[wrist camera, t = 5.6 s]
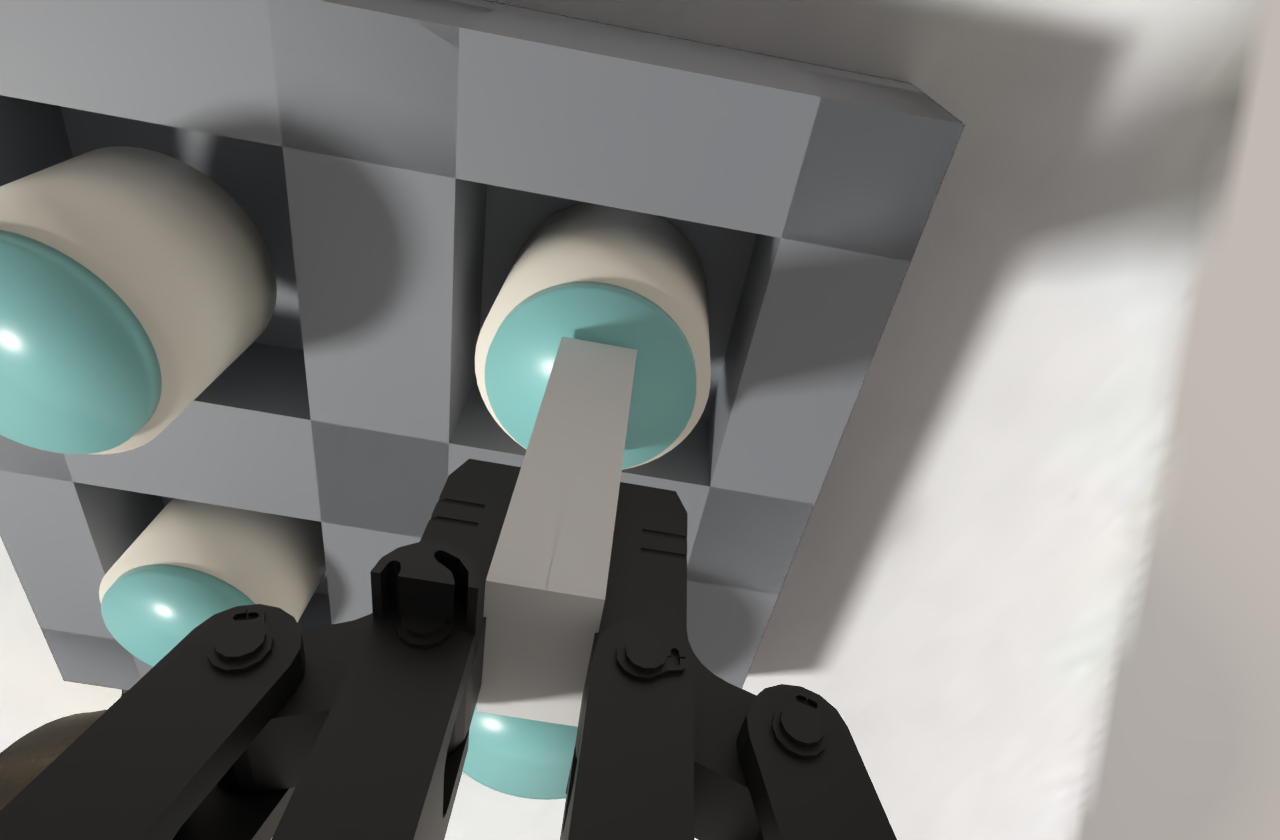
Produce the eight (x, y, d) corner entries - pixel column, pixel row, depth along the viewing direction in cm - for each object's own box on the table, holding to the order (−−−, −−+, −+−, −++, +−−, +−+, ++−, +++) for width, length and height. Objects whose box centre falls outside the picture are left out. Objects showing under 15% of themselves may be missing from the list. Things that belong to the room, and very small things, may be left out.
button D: (167, 450, 23) (67, 552, 19) (333, 477, 23) (265, 584, 19) (196, 565, 25) (113, 674, 22) (342, 589, 26) (285, 700, 22)
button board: (-84, -110, 16) (-286, -117, 13) (911, 83, 17) (964, 124, 14) (136, 591, 28) (63, 680, 25) (705, 678, 29) (707, 776, 26)
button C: (18, 125, 15) (-191, 191, 12) (263, 169, 16) (133, 247, 12) (80, 337, 18) (-72, 443, 15) (287, 372, 18) (187, 485, 15)
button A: (519, 182, 18) (475, 254, 14) (727, 221, 18) (736, 300, 14) (505, 364, 20) (465, 462, 17) (685, 395, 21) (684, 498, 17)
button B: (480, 549, 21) (437, 679, 18) (651, 576, 22) (643, 710, 18) (473, 659, 24) (435, 790, 21) (625, 682, 24) (613, 816, 21)
